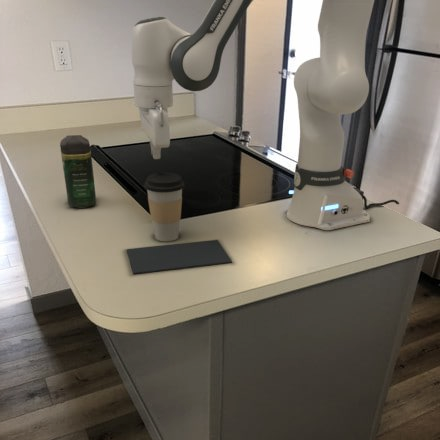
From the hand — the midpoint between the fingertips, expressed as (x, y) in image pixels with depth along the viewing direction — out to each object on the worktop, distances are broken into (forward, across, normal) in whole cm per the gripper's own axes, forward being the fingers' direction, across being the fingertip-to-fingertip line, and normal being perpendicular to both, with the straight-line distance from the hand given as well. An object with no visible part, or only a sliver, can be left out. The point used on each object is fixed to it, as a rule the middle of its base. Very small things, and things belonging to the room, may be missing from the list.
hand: (156, 157), depth 120 cm
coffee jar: (+18, +20, +19) cm, 32 cm away
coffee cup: (+17, -10, 0) cm, 20 cm away
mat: (+17, -21, -1) cm, 27 cm away
